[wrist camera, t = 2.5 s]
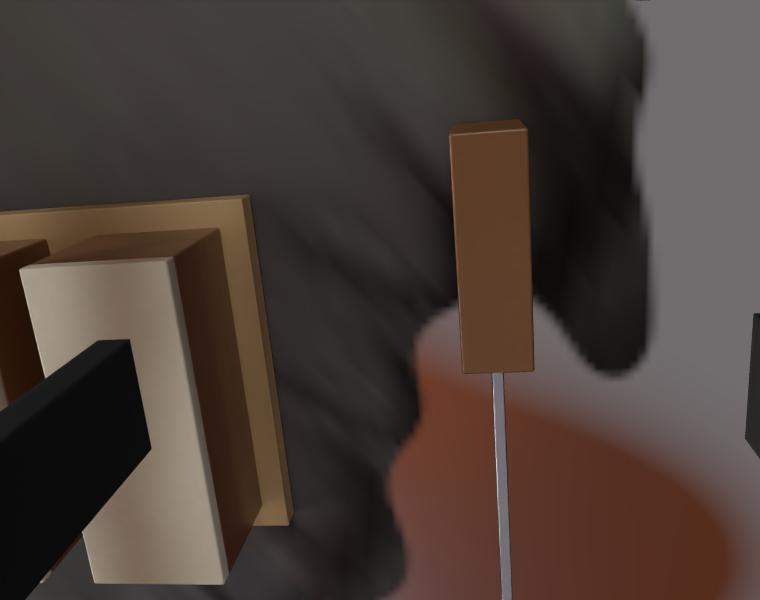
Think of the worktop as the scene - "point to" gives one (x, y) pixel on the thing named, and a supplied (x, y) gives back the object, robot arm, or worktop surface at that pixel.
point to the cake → (158, 370)
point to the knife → (494, 273)
